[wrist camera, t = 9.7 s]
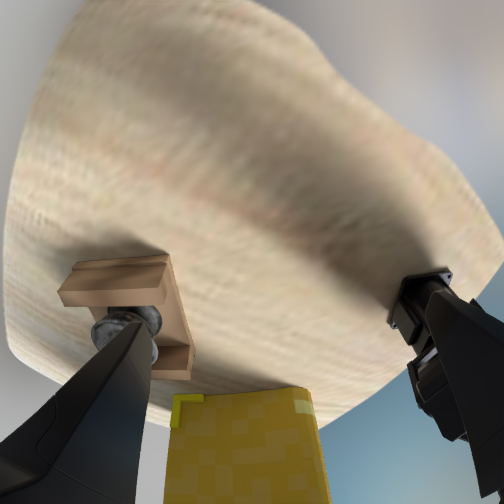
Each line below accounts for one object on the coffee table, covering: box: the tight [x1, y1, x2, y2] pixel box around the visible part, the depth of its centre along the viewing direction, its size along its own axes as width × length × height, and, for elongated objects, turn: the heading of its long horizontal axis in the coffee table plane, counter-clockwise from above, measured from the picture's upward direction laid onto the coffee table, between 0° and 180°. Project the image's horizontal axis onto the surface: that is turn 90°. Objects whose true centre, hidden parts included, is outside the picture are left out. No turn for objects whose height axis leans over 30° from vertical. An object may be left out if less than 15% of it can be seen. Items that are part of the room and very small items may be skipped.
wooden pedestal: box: [57, 255, 195, 380], centre depth 22 cm, size 9×11×4 cm
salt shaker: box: [91, 305, 163, 364], centre depth 18 cm, size 6×6×12 cm
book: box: [163, 387, 332, 504], centre depth 21 cm, size 17×7×25 cm, turn 98°
